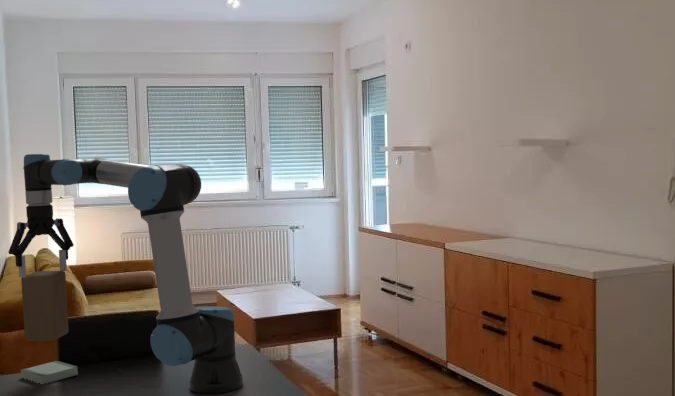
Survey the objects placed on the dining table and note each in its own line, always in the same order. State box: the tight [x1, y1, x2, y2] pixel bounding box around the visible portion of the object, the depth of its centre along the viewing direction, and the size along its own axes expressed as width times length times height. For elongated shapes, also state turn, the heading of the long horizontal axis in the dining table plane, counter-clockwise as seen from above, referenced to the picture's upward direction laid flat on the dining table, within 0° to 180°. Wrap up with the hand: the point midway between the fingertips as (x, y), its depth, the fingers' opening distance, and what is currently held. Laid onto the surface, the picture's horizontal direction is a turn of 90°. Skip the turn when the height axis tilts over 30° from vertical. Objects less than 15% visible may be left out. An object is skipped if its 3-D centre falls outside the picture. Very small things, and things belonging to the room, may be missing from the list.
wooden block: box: [20, 270, 70, 342], centre depth 234 cm, size 10×10×20 cm
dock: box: [20, 360, 79, 385], centre depth 236 cm, size 12×12×3 cm
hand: (43, 274), depth 234 cm, fingers closed on wooden block, 13 cm apart
